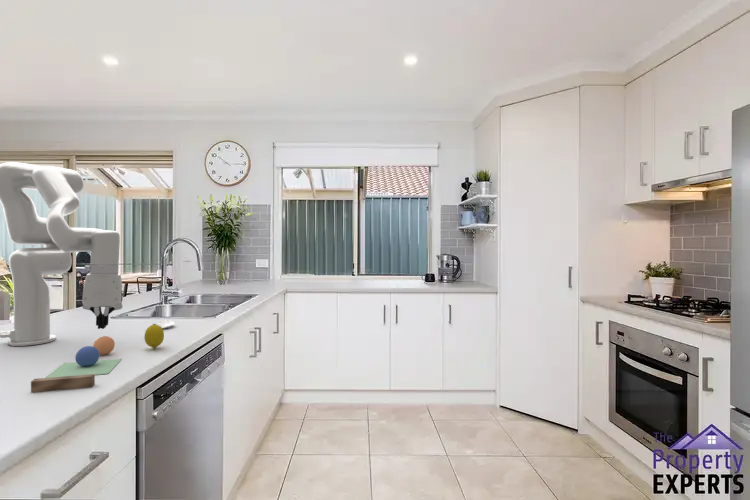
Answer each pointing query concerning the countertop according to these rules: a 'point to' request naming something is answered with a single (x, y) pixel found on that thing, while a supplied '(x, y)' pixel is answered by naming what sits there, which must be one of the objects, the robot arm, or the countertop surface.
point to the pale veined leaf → (165, 323)
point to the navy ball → (87, 356)
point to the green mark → (84, 368)
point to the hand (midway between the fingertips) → (102, 327)
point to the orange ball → (104, 345)
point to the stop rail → (62, 383)
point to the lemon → (154, 336)
